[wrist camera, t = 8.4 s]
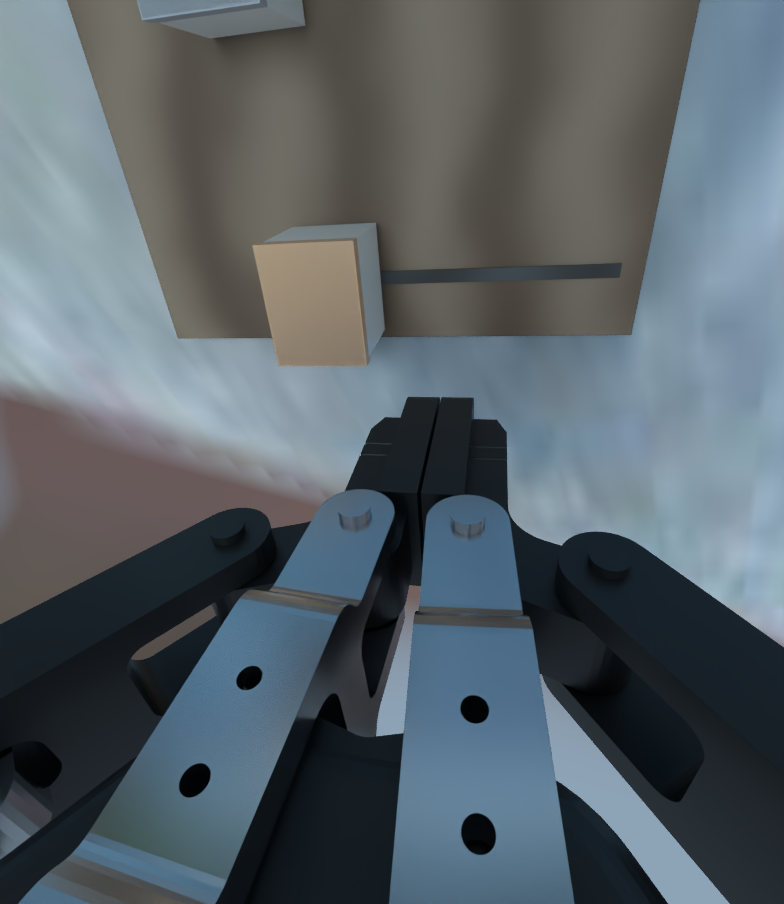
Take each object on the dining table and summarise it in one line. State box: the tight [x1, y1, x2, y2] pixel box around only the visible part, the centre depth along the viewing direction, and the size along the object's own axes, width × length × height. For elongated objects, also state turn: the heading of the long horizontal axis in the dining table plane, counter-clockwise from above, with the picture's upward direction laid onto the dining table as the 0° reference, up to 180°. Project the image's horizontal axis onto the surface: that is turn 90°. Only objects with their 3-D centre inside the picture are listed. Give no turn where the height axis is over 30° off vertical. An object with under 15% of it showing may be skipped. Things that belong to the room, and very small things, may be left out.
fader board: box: [67, 0, 700, 338], centre depth 21 cm, size 24×18×2 cm
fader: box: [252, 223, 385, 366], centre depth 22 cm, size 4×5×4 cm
